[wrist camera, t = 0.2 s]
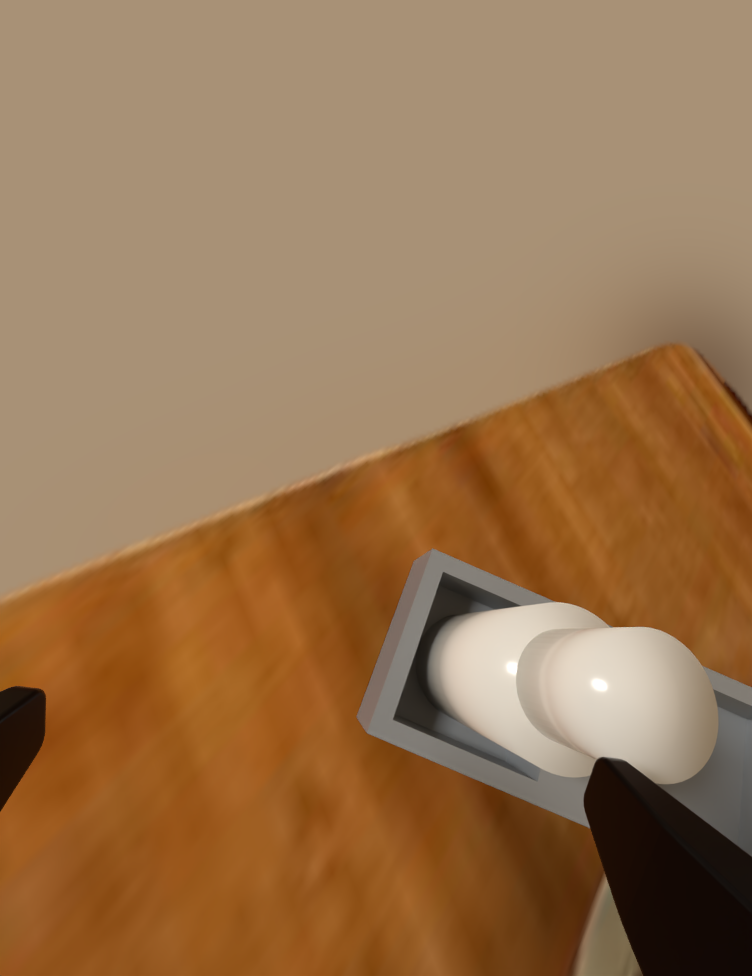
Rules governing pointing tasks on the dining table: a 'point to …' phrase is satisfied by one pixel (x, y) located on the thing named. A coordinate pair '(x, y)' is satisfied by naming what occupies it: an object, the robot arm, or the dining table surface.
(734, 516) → the dining table surface
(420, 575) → the caddy
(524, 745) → the white stepped cylinder
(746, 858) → the robot arm
